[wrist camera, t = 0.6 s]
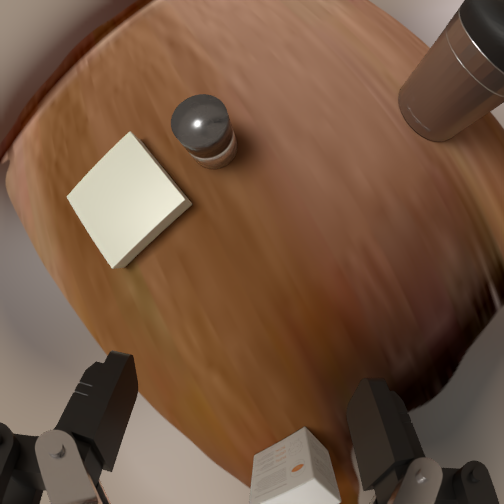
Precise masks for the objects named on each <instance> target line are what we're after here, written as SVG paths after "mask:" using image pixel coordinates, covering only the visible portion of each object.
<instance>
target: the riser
mask: <svg viewBox="0 0 504 504" xmlns="http://www.w3.org/2000/svg"><path fill="white" fill-rule="evenodd" d="M67 198H68V200H69V202H70V203H71V205H72V207H73V209H74V210H75V212H76V214H77V215H78V217H79V219H80V220H81V222H82V223H83V225H84V227H85V228H86V230H87V231H88V233H89V234H90V236H91V238H92V239H93V241H94V242H95V244H96V245H97V247H98V248H99V250H100V251H101V253H102V254H103V256H104V257H105V259H106V260H107V262H108V263H109V265H110V266H111V268H112V269H114V268H125V267H126V266H127V265H128V264H129V263H130V262H131V261H132V260H133V259H134V258H135V257H136V256H137V255H138V254H139V253H140V252H141V251H142V250H143V249H144V248H145V247H146V246H147V245H148V244H149V243H150V242H152V241H153V240H154V239H155V238H156V237H157V236H158V235H159V234H160V233H161V232H162V231H163V230H164V229H166V228H167V227H168V226H169V225H170V224H171V223H172V222H173V221H174V220H175V219H177V218H178V217H179V216H180V215H181V214H182V213H183V212H184V211H185V210H187V209H188V208H189V207H190V206H191V205H192V203H191V202H190V200H189V199H188V198H187V197H186V195H185V194H184V193H183V192H182V191H181V189H180V188H179V187H178V186H177V184H176V183H175V182H174V181H173V180H172V178H171V177H170V176H169V175H168V173H167V172H166V171H165V170H164V169H163V167H162V166H161V165H160V164H159V162H158V161H157V160H156V159H155V157H154V156H153V155H152V154H151V153H150V151H149V150H148V149H147V148H146V146H145V145H144V144H143V143H142V141H141V140H140V139H139V138H138V137H136V136H135V135H134V134H133V133H132V132H129V133H128V134H126V135H125V136H124V137H123V138H122V139H121V140H120V141H119V142H118V143H117V144H116V145H115V146H114V147H113V148H112V149H111V150H110V151H109V152H108V153H107V154H106V155H105V156H104V157H103V158H102V159H101V160H100V161H99V162H98V163H97V164H96V165H95V166H94V167H93V168H92V169H91V170H90V171H89V172H88V174H87V175H86V176H85V177H84V178H83V179H82V180H81V181H80V182H79V183H78V184H77V186H76V187H75V188H74V189H73V190H72V191H71V192H70V194H69V195H68V196H67Z"/></svg>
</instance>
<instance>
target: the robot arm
mask: <svg viewBox="0 0 504 504" xmlns="http://www.w3.org/2000/svg"><path fill="white" fill-rule="evenodd" d="M398 100H399V107H400V109H401V112H402V114H403V116H404V118H405V120H406V121H407V122H408V124H409V125H410V126H411V127H412V128H413V129H414V130H415V131H416V132H417V133H419V134H420V135H421V136H423V137H425V138H427V139H429V140H432V141H438V142H441V141H446V140H448V139H450V138H451V137H453V136H454V135H456V134H457V133H459V132H460V131H462V130H464V129H465V128H467V127H468V126H470V125H471V124H473V123H474V122H475V121H477V120H478V119H480V118H481V117H483V116H484V115H486V114H487V113H489V112H490V111H491V110H493V109H494V108H496V107H497V106H499V105H500V104H502V103H503V102H504V0H465V1H464V2H463V3H462V5H461V6H460V8H459V9H458V11H457V12H456V13H455V15H454V16H453V18H452V19H451V20H450V22H449V23H448V25H447V26H446V28H445V29H444V30H443V32H442V33H441V35H440V36H439V37H438V39H437V40H436V41H435V43H434V44H433V46H432V47H431V48H430V50H429V51H428V52H427V54H426V55H425V56H424V58H423V59H422V60H421V62H420V63H419V65H418V66H417V67H416V69H415V70H414V71H413V72H412V74H411V75H410V77H409V78H408V79H407V81H406V82H405V83H404V85H403V86H402V88H401V89H400V92H399V98H398ZM137 393H138V380H137V375H136V369H135V363H134V357H133V355H130V354H126V353H121V352H117V351H111V352H110V353H109V355H108V356H107V358H106V360H105V362H104V363H100V362H95V363H94V364H93V365H92V366H90V367H89V368H88V369H86V370H85V372H84V374H83V376H82V378H81V380H80V383H79V384H78V385H77V387H76V389H75V392H74V393H73V394H72V396H71V398H70V400H69V402H68V404H67V406H66V408H65V410H64V412H63V414H62V416H61V418H60V420H59V422H58V424H57V425H56V427H55V428H54V429H53V430H50V431H46V432H44V433H43V434H41V435H40V436H28V435H19V434H13V433H12V431H11V430H10V429H9V428H8V427H7V426H6V425H5V424H3V423H0V504H40V500H41V496H42V493H43V490H46V491H47V494H48V497H49V499H50V502H51V504H111V503H110V501H109V499H108V497H107V494H106V492H105V490H104V488H103V486H102V484H101V482H100V480H99V477H100V475H101V471H102V469H103V470H107V471H110V472H112V470H113V467H114V464H115V461H116V457H117V454H118V451H119V448H120V445H121V442H122V439H123V436H124V433H125V430H126V427H127V424H128V421H129V418H130V415H131V412H132V410H133V406H134V404H135V401H136V398H137ZM347 421H348V425H349V429H350V433H351V437H352V442H353V446H354V450H355V454H356V459H357V463H358V468H359V472H360V477H361V481H362V486H363V490H364V491H366V490H372V489H374V490H375V494H376V495H375V496H374V497H373V498H372V500H371V502H370V503H369V504H499V502H498V498H497V495H496V492H495V489H494V486H493V484H492V480H491V478H490V475H489V472H488V470H487V468H486V467H485V465H484V464H482V463H481V462H478V461H470V462H468V463H466V464H465V465H464V466H463V467H462V468H461V469H453V468H441V467H440V466H439V464H438V463H437V462H436V461H434V460H432V459H430V458H426V457H425V455H424V453H423V450H422V448H421V445H420V442H419V440H418V437H417V434H416V432H415V429H414V427H413V424H412V423H411V419H410V417H409V414H407V409H406V407H405V404H404V402H403V400H402V399H401V398H400V397H399V396H398V395H397V394H396V393H395V391H389V388H388V386H387V383H386V381H385V380H384V379H383V378H364V379H362V380H361V382H360V383H359V385H358V387H357V389H356V391H355V393H354V395H353V396H352V398H351V400H350V402H349V404H348V407H347Z"/></svg>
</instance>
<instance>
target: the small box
mask: <svg viewBox="0 0 504 504" xmlns="http://www.w3.org/2000/svg"><path fill="white" fill-rule="evenodd" d="M340 502H341V498H340V494H339V490H338V486H337V483H336V479H335V475H334V471H333V468H332V464H331V460H330V456H329V453H328V450H327V449H326V448H325V447H324V446H323V445H322V444H321V443H320V442H319V441H318V440H317V439H316V437H315V436H314V435H313V434H312V433H311V432H310V431H309V430H308V429H307V428H306V427H303V428H302V429H300V430H299V431H297V432H295V433H294V434H292V435H290V436H288V437H287V438H285V439H283V440H282V441H280V442H278V443H276V444H274V445H272V446H271V447H269V448H267V449H265V450H263V451H261V452H260V453H258V454H256V455H254V462H253V471H252V481H251V490H250V499H249V504H338V503H340Z"/></svg>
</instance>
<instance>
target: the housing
mask: <svg viewBox="0 0 504 504" xmlns="http://www.w3.org/2000/svg"><path fill="white" fill-rule="evenodd" d="M171 128H172V131H173V133H174V135H175V136H176V138H177V139H178V140H179V141H180V142H181V144H182V145H183V146H184V147H185V148H186V150H187V151H188V152H189V153H190V154H191V155H192V157H193V158H194V159H195V160H196V161H197V163H198V164H200V165H201V166H203V167H205V168H208V169H218V168H221V167H224V166H226V165H227V164H229V163H230V162H231V161H232V160H233V158H234V157H235V155H236V152H237V140H236V137H235V134H234V131H233V128H232V125H231V122H230V119H229V116H228V113H227V110H226V107H225V105H224V104H223V103H222V101H220V100H219V99H218V98H216V97H214V96H211V95H206V94H201V95H195V96H192V97H189V98H187V99H186V100H184V101H183V102H182V103H180V104H179V105H178V107H177V108H176V109H175V111H174V113H173V115H172V119H171Z"/></svg>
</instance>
